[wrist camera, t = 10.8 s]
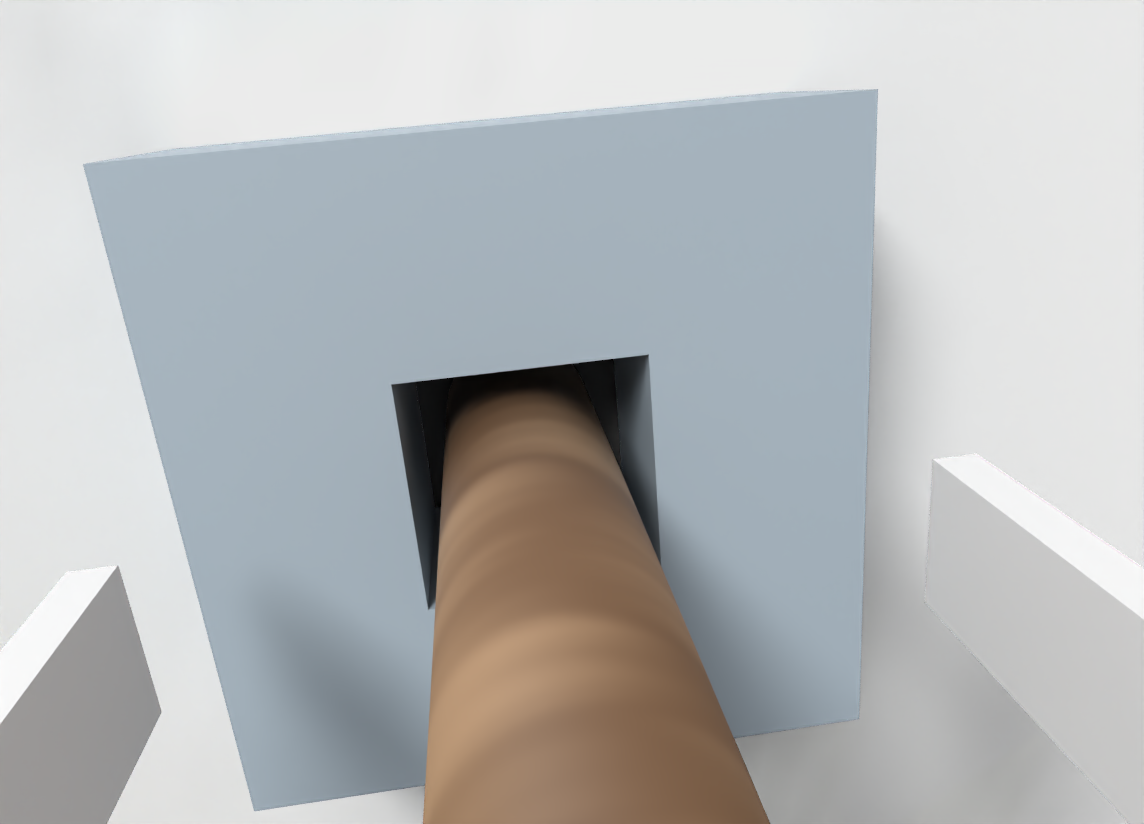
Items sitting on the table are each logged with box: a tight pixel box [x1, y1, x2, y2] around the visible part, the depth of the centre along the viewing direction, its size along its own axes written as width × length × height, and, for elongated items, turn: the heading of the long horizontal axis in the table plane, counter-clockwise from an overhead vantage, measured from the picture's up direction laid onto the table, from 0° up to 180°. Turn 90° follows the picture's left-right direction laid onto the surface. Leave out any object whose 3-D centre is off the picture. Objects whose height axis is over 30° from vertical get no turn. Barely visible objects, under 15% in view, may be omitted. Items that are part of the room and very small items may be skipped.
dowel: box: [423, 364, 770, 824], centre depth 15 cm, size 4×4×16 cm
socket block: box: [83, 89, 878, 811], centre depth 20 cm, size 14×14×5 cm
